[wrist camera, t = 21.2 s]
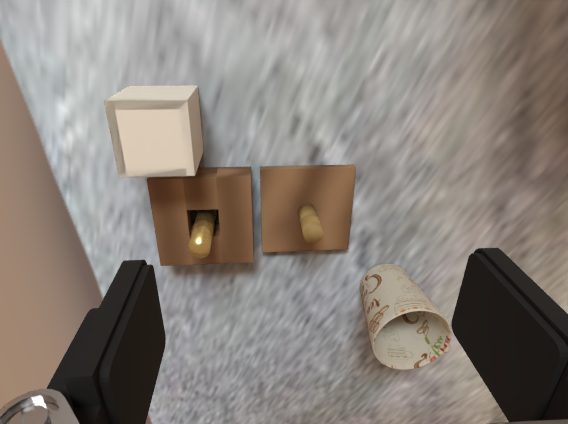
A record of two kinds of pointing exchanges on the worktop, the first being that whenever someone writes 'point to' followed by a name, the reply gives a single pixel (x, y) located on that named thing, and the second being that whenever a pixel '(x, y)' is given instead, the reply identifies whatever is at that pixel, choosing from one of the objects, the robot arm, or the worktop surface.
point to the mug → (402, 319)
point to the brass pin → (202, 233)
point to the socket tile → (203, 196)
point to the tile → (306, 190)
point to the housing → (156, 130)
